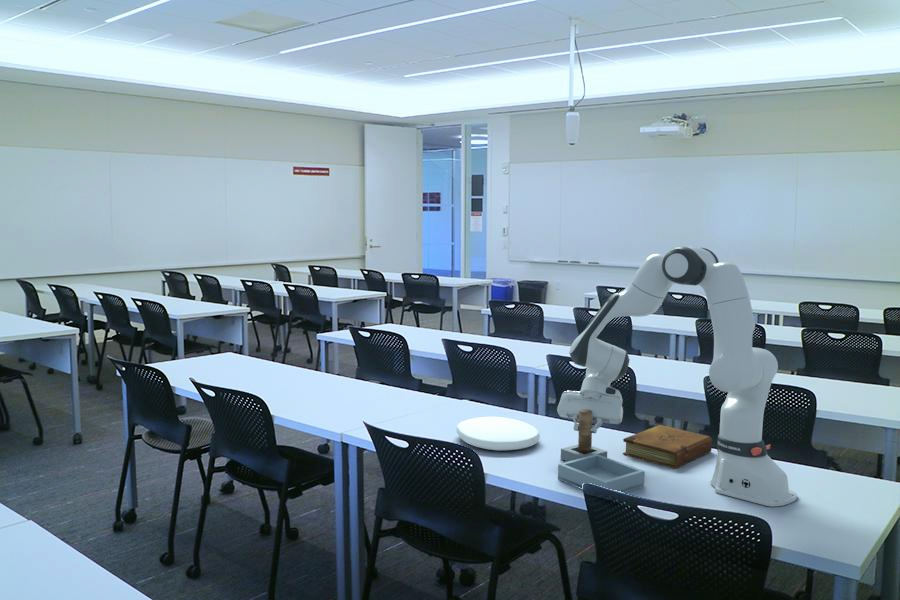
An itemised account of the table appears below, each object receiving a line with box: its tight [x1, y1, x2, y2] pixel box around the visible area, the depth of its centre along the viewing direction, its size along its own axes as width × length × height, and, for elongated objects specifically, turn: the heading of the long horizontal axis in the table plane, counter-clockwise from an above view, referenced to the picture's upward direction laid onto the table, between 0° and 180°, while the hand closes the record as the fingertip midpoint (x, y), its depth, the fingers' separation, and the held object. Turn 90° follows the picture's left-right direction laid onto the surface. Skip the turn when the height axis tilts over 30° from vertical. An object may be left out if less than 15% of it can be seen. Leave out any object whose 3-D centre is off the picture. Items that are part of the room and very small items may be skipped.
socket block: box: [560, 444, 608, 462], centre depth 227 cm, size 10×10×4 cm
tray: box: [557, 454, 646, 494], centre depth 208 cm, size 18×16×4 cm
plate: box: [456, 416, 541, 452], centre depth 246 cm, size 28×6×27 cm
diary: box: [622, 424, 713, 469], centre depth 235 cm, size 23×19×6 cm
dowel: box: [577, 409, 593, 454], centre depth 226 cm, size 4×4×14 cm
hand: (584, 431), depth 225 cm, fingers closed on dowel, 4 cm apart
